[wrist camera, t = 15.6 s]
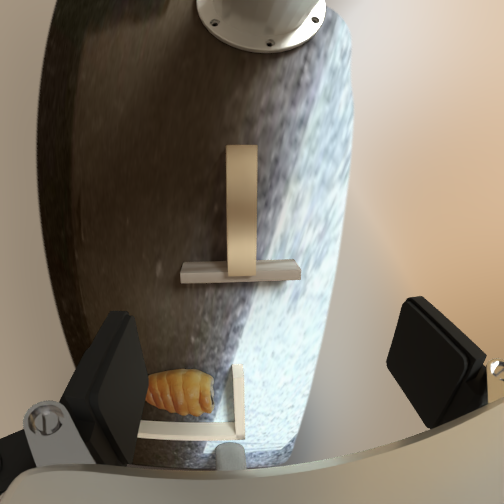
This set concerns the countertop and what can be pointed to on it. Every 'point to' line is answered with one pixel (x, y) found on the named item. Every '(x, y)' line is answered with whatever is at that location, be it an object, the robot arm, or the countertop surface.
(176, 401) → the pastry
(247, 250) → the dough scraper
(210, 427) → the frame
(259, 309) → the countertop surface
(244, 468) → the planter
